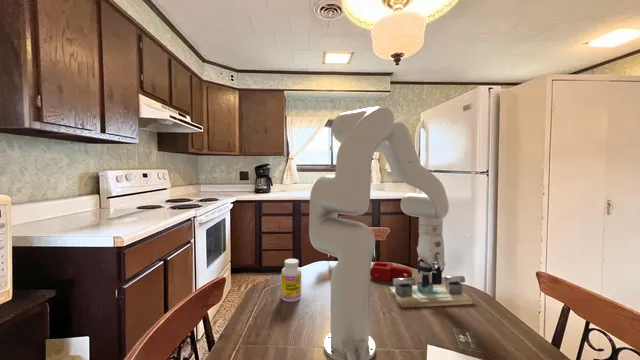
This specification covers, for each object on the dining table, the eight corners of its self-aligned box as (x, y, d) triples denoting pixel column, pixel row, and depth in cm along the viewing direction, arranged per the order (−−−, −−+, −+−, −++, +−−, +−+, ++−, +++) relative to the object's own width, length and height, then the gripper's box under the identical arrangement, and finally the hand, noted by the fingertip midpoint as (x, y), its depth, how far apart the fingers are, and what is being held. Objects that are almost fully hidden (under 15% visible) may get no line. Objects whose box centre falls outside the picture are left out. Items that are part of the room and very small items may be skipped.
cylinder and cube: (467, 294, 97) (467, 278, 96) (396, 297, 94) (396, 281, 94) (458, 288, 101) (459, 273, 101) (391, 291, 98) (391, 276, 98)
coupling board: (472, 303, 93) (472, 298, 93) (402, 307, 90) (402, 301, 90) (451, 288, 105) (451, 283, 105) (388, 290, 102) (388, 286, 102)
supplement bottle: (282, 303, 92) (282, 265, 92) (280, 294, 99) (280, 258, 98) (303, 301, 94) (303, 263, 93) (299, 292, 100) (299, 256, 100)
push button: (434, 288, 100) (435, 260, 100) (439, 295, 95) (440, 265, 95) (415, 287, 101) (416, 259, 101) (418, 294, 96) (419, 264, 95)
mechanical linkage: (369, 278, 114) (369, 266, 114) (373, 272, 120) (373, 260, 120) (411, 285, 108) (411, 272, 107) (412, 278, 114) (412, 266, 114)
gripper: (455, 234, 88) (454, 288, 89) (428, 223, 105) (427, 268, 106) (432, 235, 87) (431, 289, 88) (409, 223, 105) (408, 269, 105)
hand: (429, 278), depth 97 cm, fingers open, 9 cm apart
